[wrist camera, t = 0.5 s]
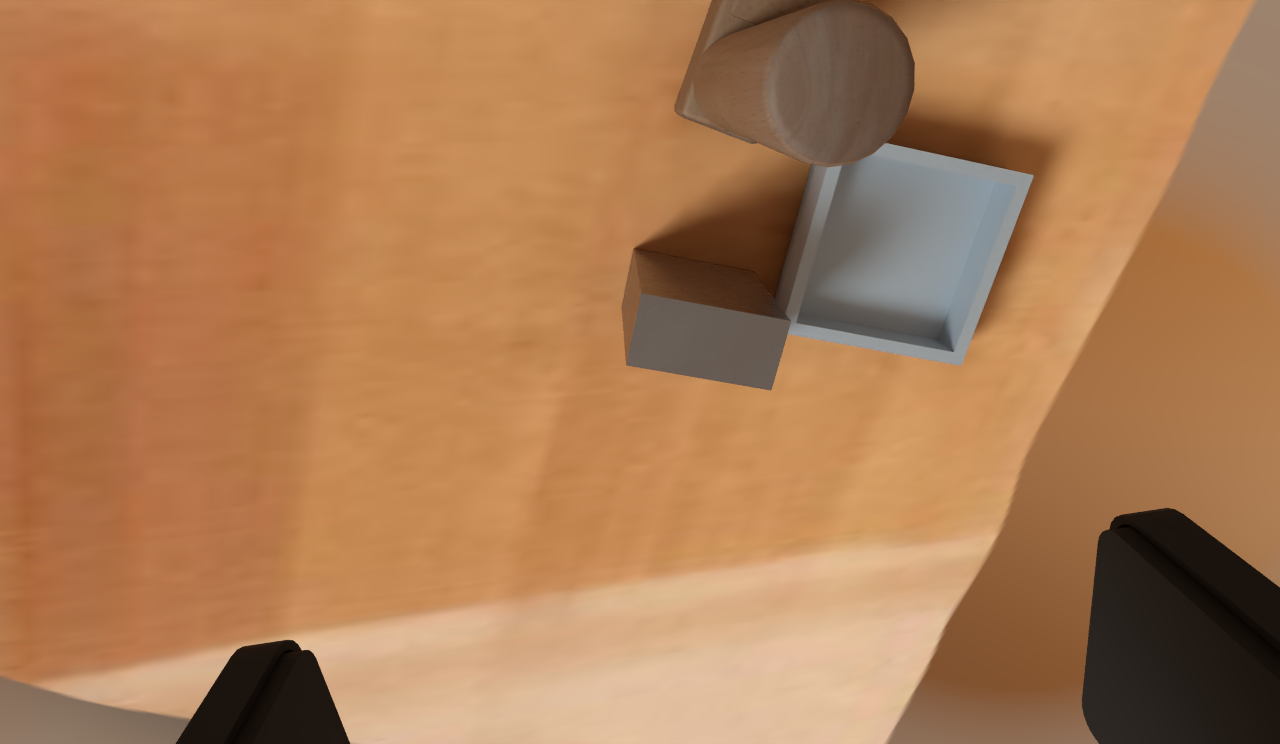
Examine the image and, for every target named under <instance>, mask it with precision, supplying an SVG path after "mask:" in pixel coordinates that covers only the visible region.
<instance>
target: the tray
mask: <svg viewBox="0 0 1280 744" xmlns="http://www.w3.org/2000/svg"><path fill="white" fill-rule="evenodd" d="M1033 177H1034V175H1031V174H1026V173H1022V172H1017V171H1013V170H1009V169H1004V168H1000V167H995V166H990V165H986V164H981V163H977V162H972V161H967V160H963V159H958V158H954V157H949V156H944V155H940V154H935V153H931V152H926V151H921V150H917V149H912V148H908V147H903V146H898V145H894V144H889V143H885V144H884V145H883V146H881V147H880V148H879V149H878V150H877V151H876V152H875V153H874V154H872V155H869V156H867V157H865V158H863V159H861V160H859V161H857V162H855V163H853V164H849V165H841V166H834V167H823V166H818V165H813V164H812V165H811V168H810V172H809V175H808V179H807V183H806V186H805V190H804V194H803V197H802V201H801V204H800V208H799V212H798V215H797V219H796V222H795V226H794V230H793V233H792V237H791V240H790V244H789V248H788V251H787V255H786V259H785V262H784V266H783V269H782V273H781V277H780V280H779V284H778V287H777V291H776V295H775V298H774V299H775V301H776V302H777V303H778V304H779V306H780V307H781V308H782V310H783V311H784V312H785V314H786V315H787V316H788V317H789V319H790V320H791V324H790V327H789V331H788V334H790V335H796V336H801V337H807V338H812V339H818V340H823V341H829V342H834V343H840V344H845V345H850V346H856V347H861V348H867V349H872V350H878V351H883V352H889V353H894V354H900V355H905V356H911V357H916V358H921V359H927V360H932V361H938V362H943V363H949V364H954V365H960V366H961V365H962V363H963V360H964V357H965V355H966V352H967V350H968V347H969V344H970V342H971V339H972V337H973V334H974V331H975V329H976V326H977V323H978V321H979V318H980V316H981V313H982V310H983V308H984V305H985V303H986V300H987V297H988V295H989V292H990V289H991V287H992V284H993V282H994V279H995V276H996V274H997V271H998V269H999V266H1000V263H1001V261H1002V258H1003V255H1004V253H1005V250H1006V248H1007V245H1008V242H1009V240H1010V237H1011V235H1012V232H1013V229H1014V227H1015V224H1016V222H1017V219H1018V216H1019V214H1020V211H1021V208H1022V206H1023V203H1024V201H1025V198H1026V195H1027V193H1028V190H1029V188H1030V185H1031V182H1032V180H1033Z"/></svg>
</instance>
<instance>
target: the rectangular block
mask: <svg viewBox="0 0 1280 744" xmlns="http://www.w3.org/2000/svg"><path fill="white" fill-rule="evenodd" d="M622 318H623V331H624V343H625V356H626V365H628V366H633V367H639V368H645V369H651V370H657V371H662V372H668V373H674V374H680V375H685V376H691V377H697V378H703V379H708V380H714V381H720V382H726V383H731V384H737V385H743V386H749V387H754V388H760V389H766V390H772V386H773V383H774V379H775V376H776V372H777V369H778V365H779V362H780V358H781V355H782V352H783V348H784V345H785V341H786V338H787V334H788V331H789V327H790V324H791V320H790V319H789V317H788V316H787V315H786V314H785V312H784V311H783V310H782V308H781V307H780V306H779V304H778V303H777V302H776V301H775V299H774V298H773V297H772V295H771V294H770V293H769V291H768V290H767V289H766V288H765V286H764V285H763V284H762V282H761V281H760V280H759V279H758V277H757V276H756V275H755V273H754V272H753V271H747V270H742V269H737V268H732V267H727V266H721V265H716V264H711V263H706V262H701V261H695V260H690V259H685V258H680V257H675V256H669V255H664V254H659V253H654V252H649V251H643V250H638V249H633V254H632V259H631V264H630V269H629V273H628V278H627V283H626V288H625V293H624V298H623V303H622Z"/></svg>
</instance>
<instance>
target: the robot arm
mask: <svg viewBox="0 0 1280 744" xmlns="http://www.w3.org/2000/svg"><path fill="white" fill-rule="evenodd" d="M1097 548H1098V549H1097V557H1096V567H1095V577H1094V587H1093V596H1092V606H1091V617H1090V626H1089V637H1088V646H1087V656H1086V665H1085V675H1084V685H1083V695H1082V708H1083V713H1084V717H1085V719H1086V722H1087V725H1088V727H1089V729H1090V731H1091V732H1092V734H1093V736H1094V737H1095V739H1096V740H1097V741H1098V743H1099V744H1280V587H1278V586H1277V585H1276V584H1274V583H1273V582H1272V581H1271V580H1269V579H1268V578H1267V577H1265V576H1264V575H1263V574H1261V573H1260V572H1259V571H1257V570H1256V569H1255V568H1253V567H1252V566H1251V565H1249V564H1248V563H1247V562H1246V561H1244V560H1243V559H1242V558H1240V557H1239V556H1238V555H1236V554H1235V553H1234V552H1232V551H1231V550H1230V549H1228V548H1227V547H1226V546H1225V545H1223V544H1222V543H1220V542H1219V541H1218V540H1217V539H1215V538H1214V537H1212V536H1211V535H1210V534H1209V533H1207V532H1206V531H1205V530H1204V529H1202V528H1201V527H1200V526H1198V525H1197V524H1196V523H1194V522H1193V521H1192V520H1190V519H1189V518H1188V517H1186V516H1185V515H1184V514H1182V513H1180V512H1178V511H1177V510H1175V509H1170V508H1164V509H1157V510H1151V511H1144V512H1137V513H1131V514H1124V515H1120V516H1117V517H1115V518H1114V520H1113V521H1112V522H1111V525H1110V529H1109V530H1106V531H1103V532H1102V533H1101V534H1100V536H1099V540H1098V547H1097ZM176 744H350V742H349V740H348V737H347V735H346V732H345V730H344V727H343V725H342V722H341V720H340V717H339V715H338V712H337V710H336V707H335V705H334V702H333V700H332V697H331V695H330V692H329V690H328V687H327V685H326V682H325V680H324V677H323V674H322V672H321V669H320V667H319V664H318V662H317V659H316V657H315V656H314V654H313V653H312V652H311V651H310V650H303V651H302V650H301V649H300V647H299V645H298V644H297V643H296V642H294V641H293V640H284V641H277V642H270V643H264V644H257V645H250V646H244V647H241V648H240V649H238V650H236V652H235V653H234V654H233V655H232V656H231V658H230V659H229V661H228V662H227V664H226V666H225V667H224V669H223V670H222V672H221V673H220V675H219V676H218V678H217V680H216V681H215V683H214V684H213V686H212V687H211V689H210V691H209V692H208V694H207V695H206V697H205V698H204V700H203V702H202V703H201V705H200V706H199V708H198V709H197V711H196V713H195V714H194V716H193V717H192V719H191V720H190V722H189V724H188V725H187V727H186V728H185V730H184V731H183V733H182V735H181V736H180V738H179V739H178V741H177V742H176Z"/></svg>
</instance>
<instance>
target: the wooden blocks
mask: <svg viewBox="0 0 1280 744" xmlns="http://www.w3.org/2000/svg"><path fill="white" fill-rule="evenodd" d="M914 67H915V63H914V59H913V56H912V53H911V49H910V46H909V43H908V39H907V37H906V36H905V35H904V33H903V32H902V30H901V29H900V28H899V26H898V25H897V23H896V22H895V21H894V19H893V18H892V17H890V16H889V15H887V14H886V13H884V12H883V11H881V10H880V9H878V8H877V7H875V6H874V5H872V4H868V3H864V2H859V1H855V0H712V2H711V5H710V8H709V10H708V13H707V16H706V19H705V22H704V24H703V27H702V30H701V33H700V36H699V38H698V41H697V44H696V47H695V50H694V53H693V55H692V58H691V61H690V64H689V67H688V69H687V72H686V75H685V78H684V81H683V83H682V86H681V89H680V92H679V95H678V98H677V100H676V103H675V112H676V113H677V114H678V115H680V116H682V117H684V118H686V119H688V120H691V121H694V122H696V123H699V124H701V125H704V126H707V127H709V128H712V129H714V130H717V131H720V132H722V133H725V134H728V135H730V136H733V137H735V138H738V139H741V140H743V141H746V142H748V143H751V144H754V143H759V144H762V145H764V146H766V147H769V148H771V149H773V150H776V151H778V152H780V153H783V154H785V155H788V156H790V157H792V158H795V159H797V160H799V161H802V162H804V163H808V164H813V165H818V166H823V167H834V166H841V165H849V164H853V163H855V162H857V161H859V160H861V159H863V158H865V157H867V156H869V155H872V154H874V153H875V152H876V151H877V150H878V149H879V148H880V147H881V146H883V145H884V144H885V143H886V142H887V141H888V140H889V139H890V138H891V137H893V135H894V133H895V132H896V130H897V129H898V127H899V126H900V124H901V122H902V121H903V119H904V118H905V116H906V115H907V111H908V108H909V105H910V101H911V98H912V95H913V92H914Z"/></svg>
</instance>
